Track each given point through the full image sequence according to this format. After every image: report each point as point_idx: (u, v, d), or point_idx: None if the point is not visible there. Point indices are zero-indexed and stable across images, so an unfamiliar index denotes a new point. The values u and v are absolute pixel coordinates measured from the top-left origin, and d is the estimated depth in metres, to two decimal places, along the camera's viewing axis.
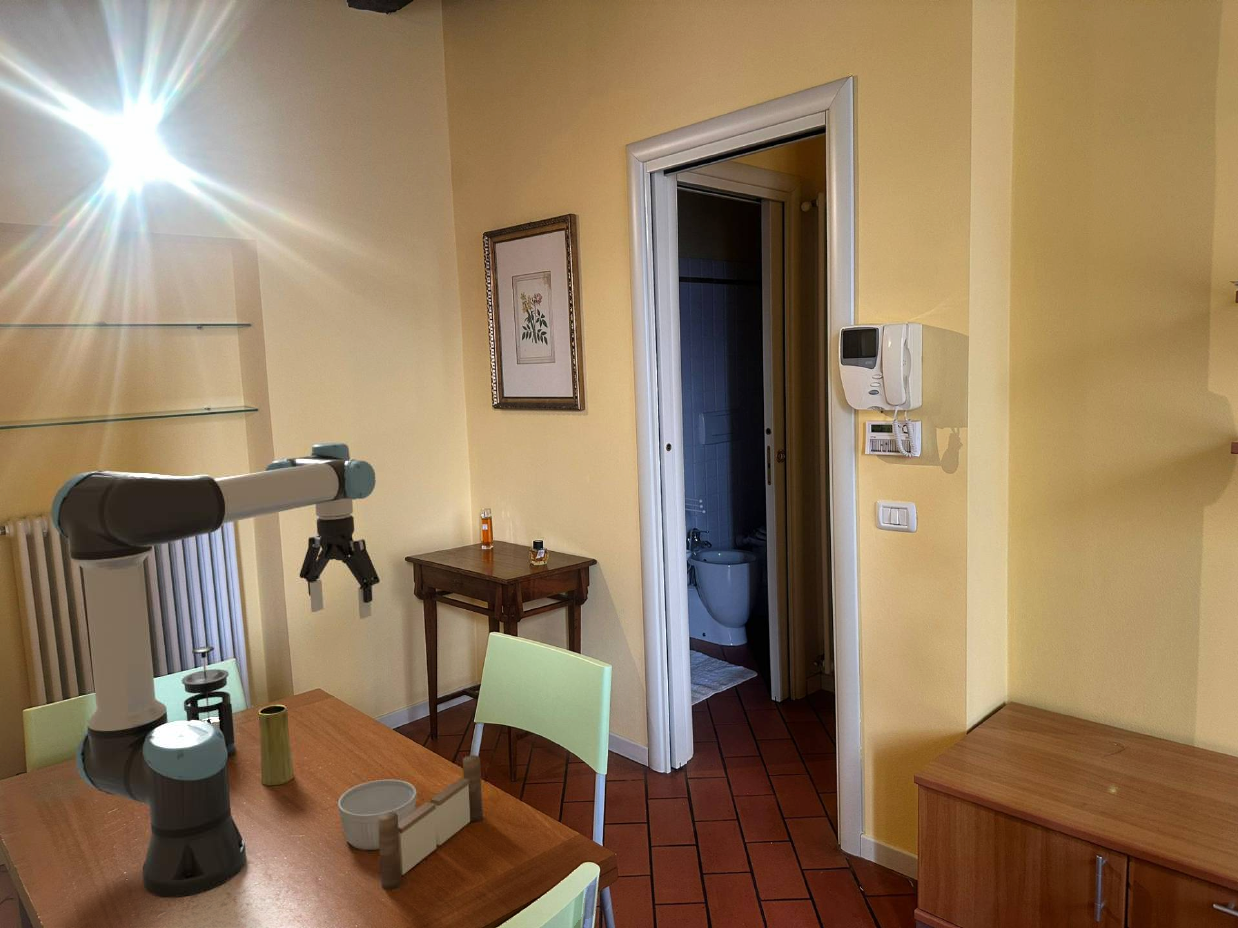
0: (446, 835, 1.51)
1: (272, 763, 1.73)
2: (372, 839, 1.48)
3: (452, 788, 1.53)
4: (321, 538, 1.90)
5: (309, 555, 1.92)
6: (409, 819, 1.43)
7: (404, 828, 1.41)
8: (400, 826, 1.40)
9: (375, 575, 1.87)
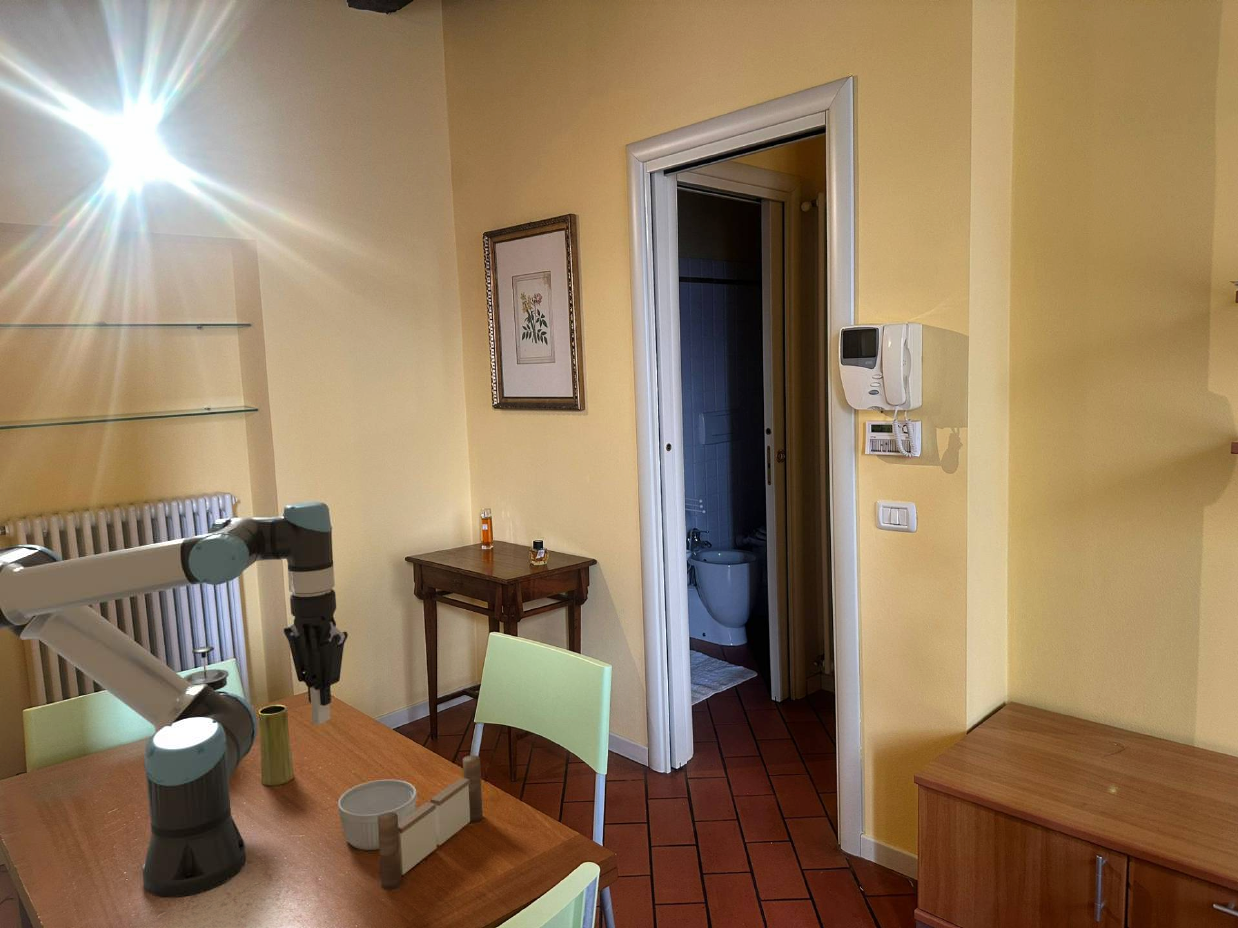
0: (446, 835, 1.51)
1: (272, 763, 1.73)
2: (372, 839, 1.48)
3: (452, 788, 1.53)
4: (294, 619, 1.57)
5: (294, 648, 1.57)
6: (409, 819, 1.43)
7: (404, 828, 1.41)
8: (400, 826, 1.40)
9: (337, 675, 1.56)
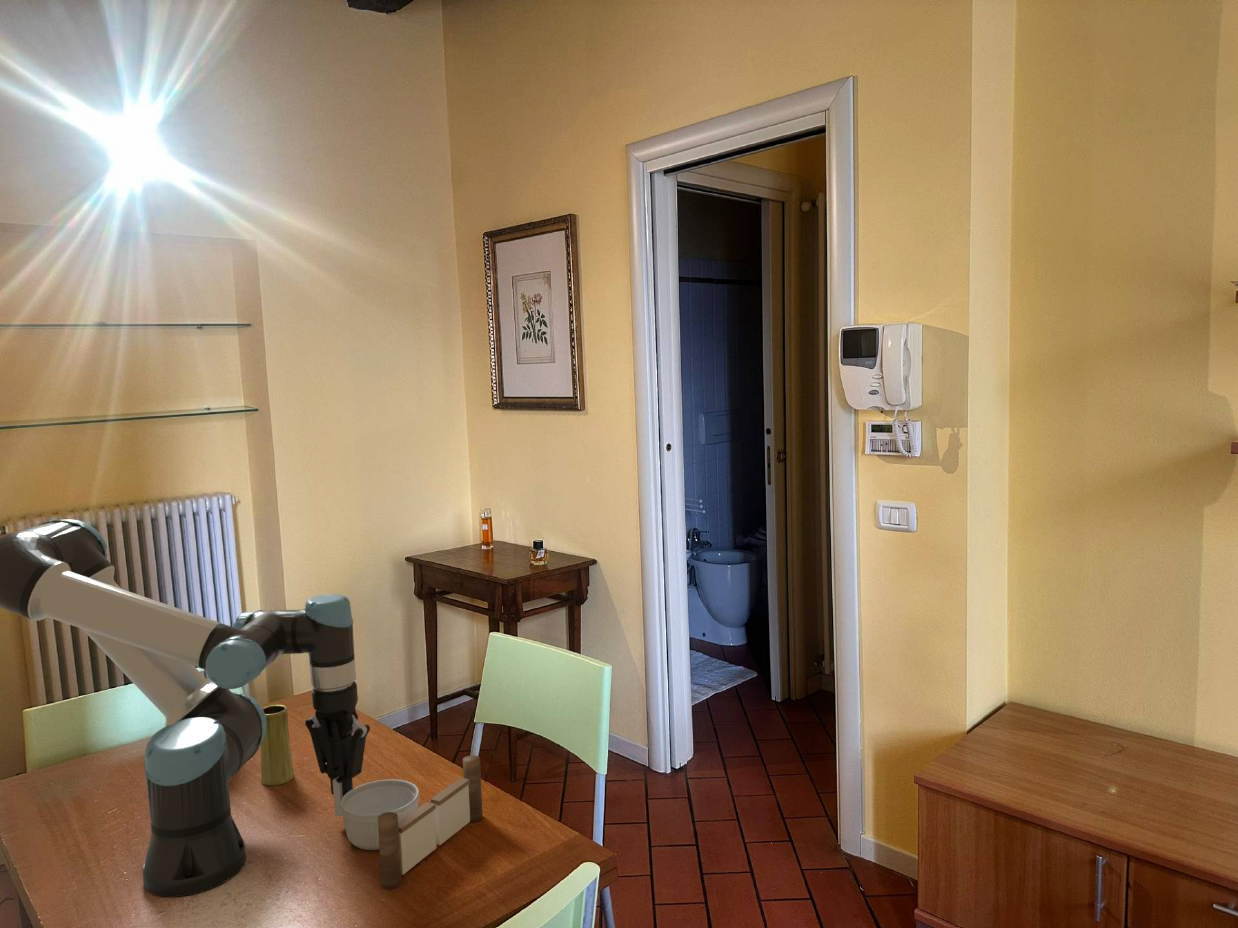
0: (446, 835, 1.51)
1: (272, 763, 1.73)
2: (375, 839, 1.48)
3: (452, 788, 1.53)
4: None
5: (316, 740, 1.57)
6: (409, 819, 1.43)
7: (404, 828, 1.41)
8: (400, 826, 1.40)
9: (359, 767, 1.56)
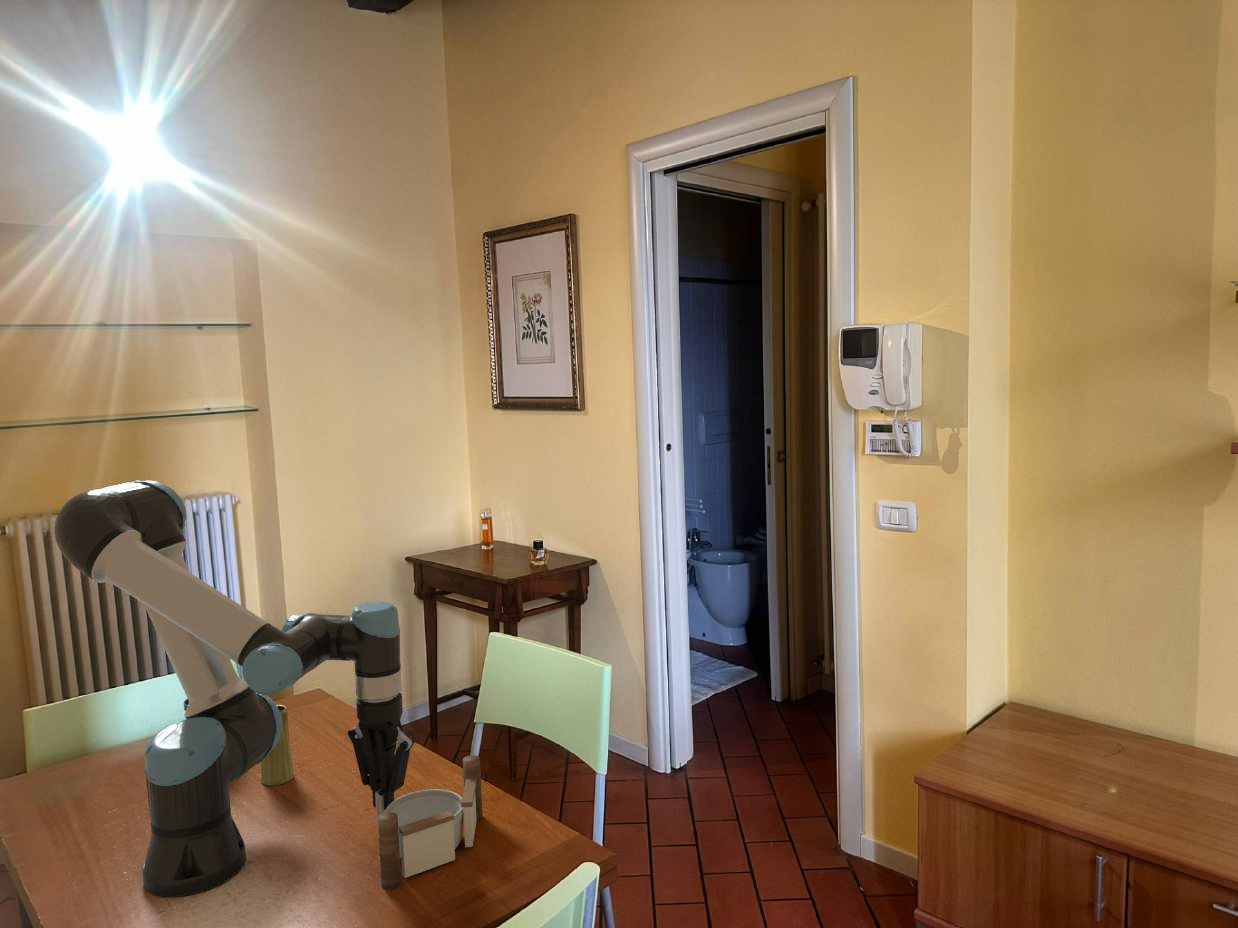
0: (473, 836, 1.50)
1: (272, 763, 1.73)
2: None
3: (470, 789, 1.52)
4: None
5: (358, 751, 1.53)
6: (418, 824, 1.41)
7: (407, 832, 1.39)
8: (403, 829, 1.40)
9: (402, 780, 1.52)
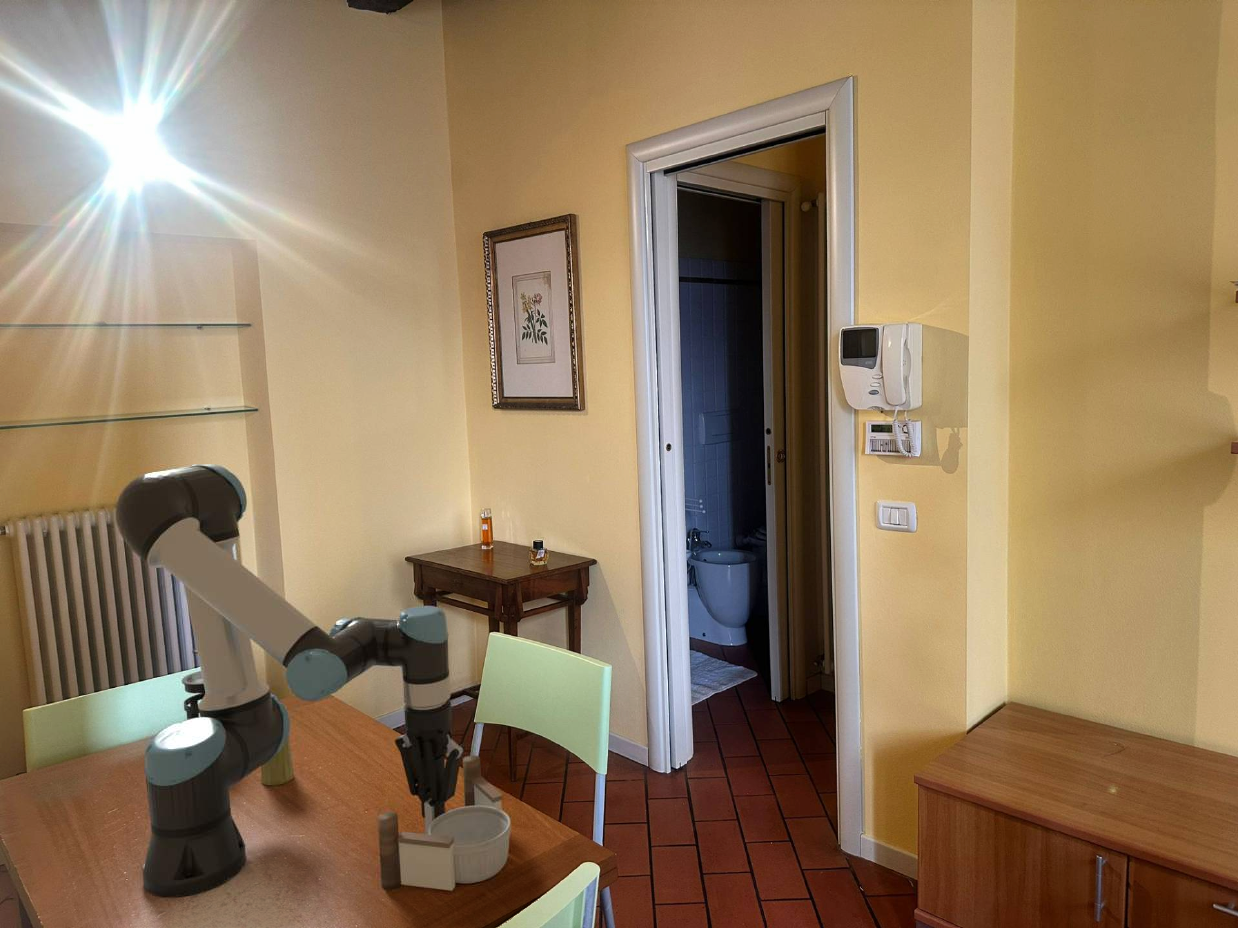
0: None
1: (272, 763, 1.73)
2: None
3: (486, 785, 1.53)
4: None
5: (406, 760, 1.49)
6: (416, 836, 1.37)
7: (401, 840, 1.37)
8: (400, 835, 1.38)
9: (453, 790, 1.47)
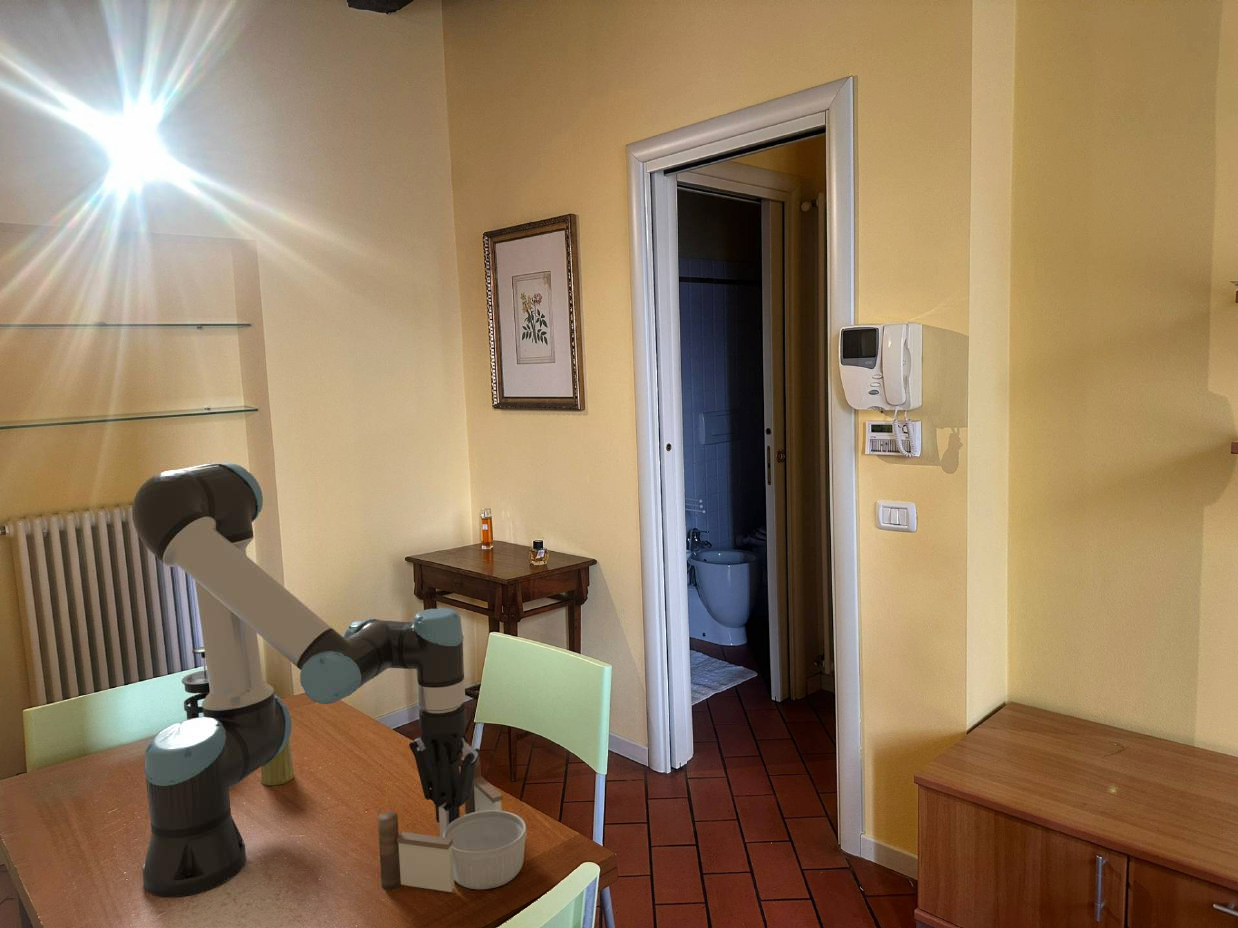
0: None
1: (272, 763, 1.73)
2: (469, 877, 1.36)
3: (486, 785, 1.53)
4: (421, 733, 1.47)
5: (421, 764, 1.47)
6: (415, 837, 1.37)
7: (401, 840, 1.37)
8: (400, 836, 1.38)
9: (468, 794, 1.46)
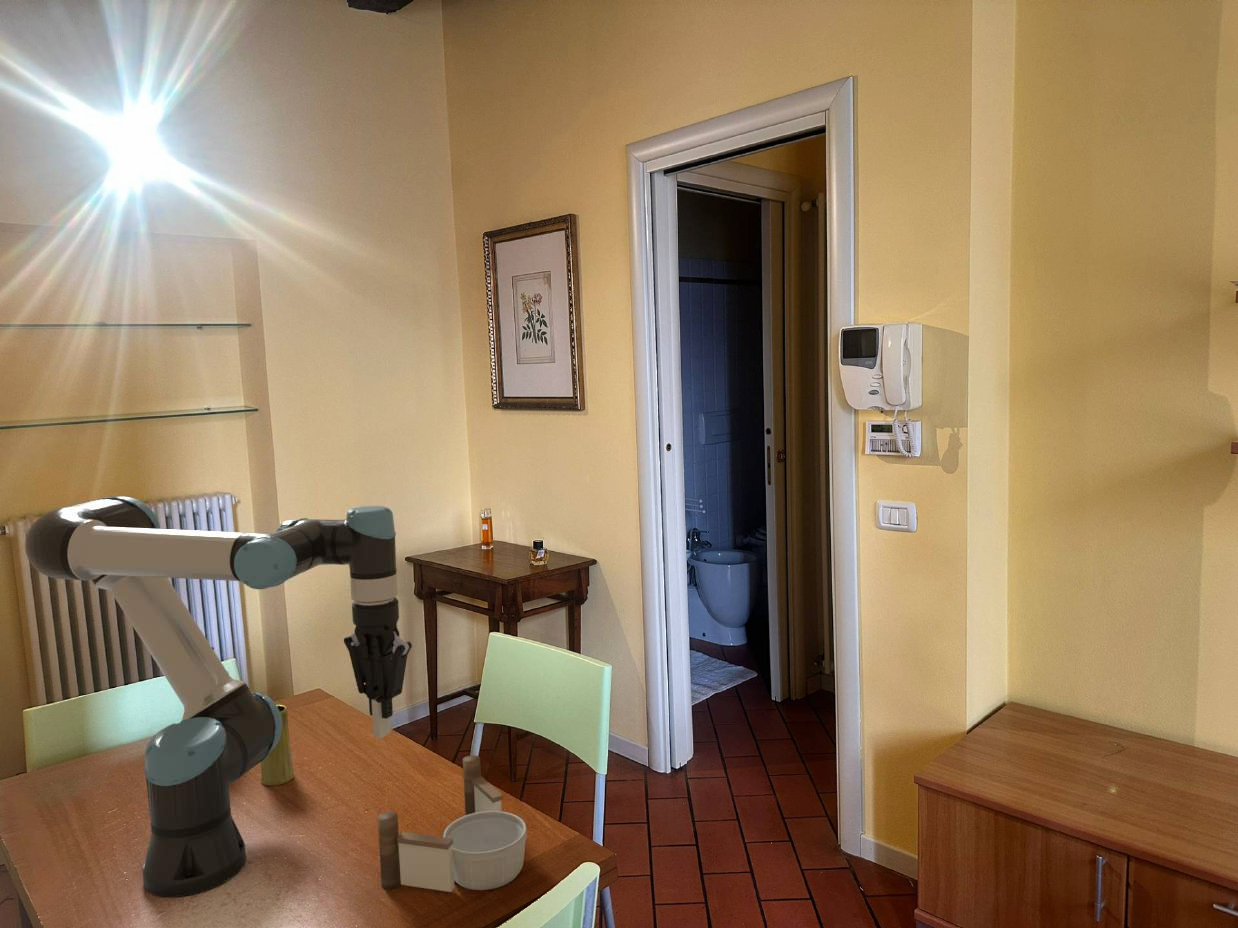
0: None
1: (272, 763, 1.73)
2: (469, 878, 1.36)
3: (486, 785, 1.53)
4: (355, 628, 1.50)
5: (355, 659, 1.51)
6: (415, 837, 1.37)
7: (401, 840, 1.37)
8: (400, 836, 1.38)
9: (400, 687, 1.50)
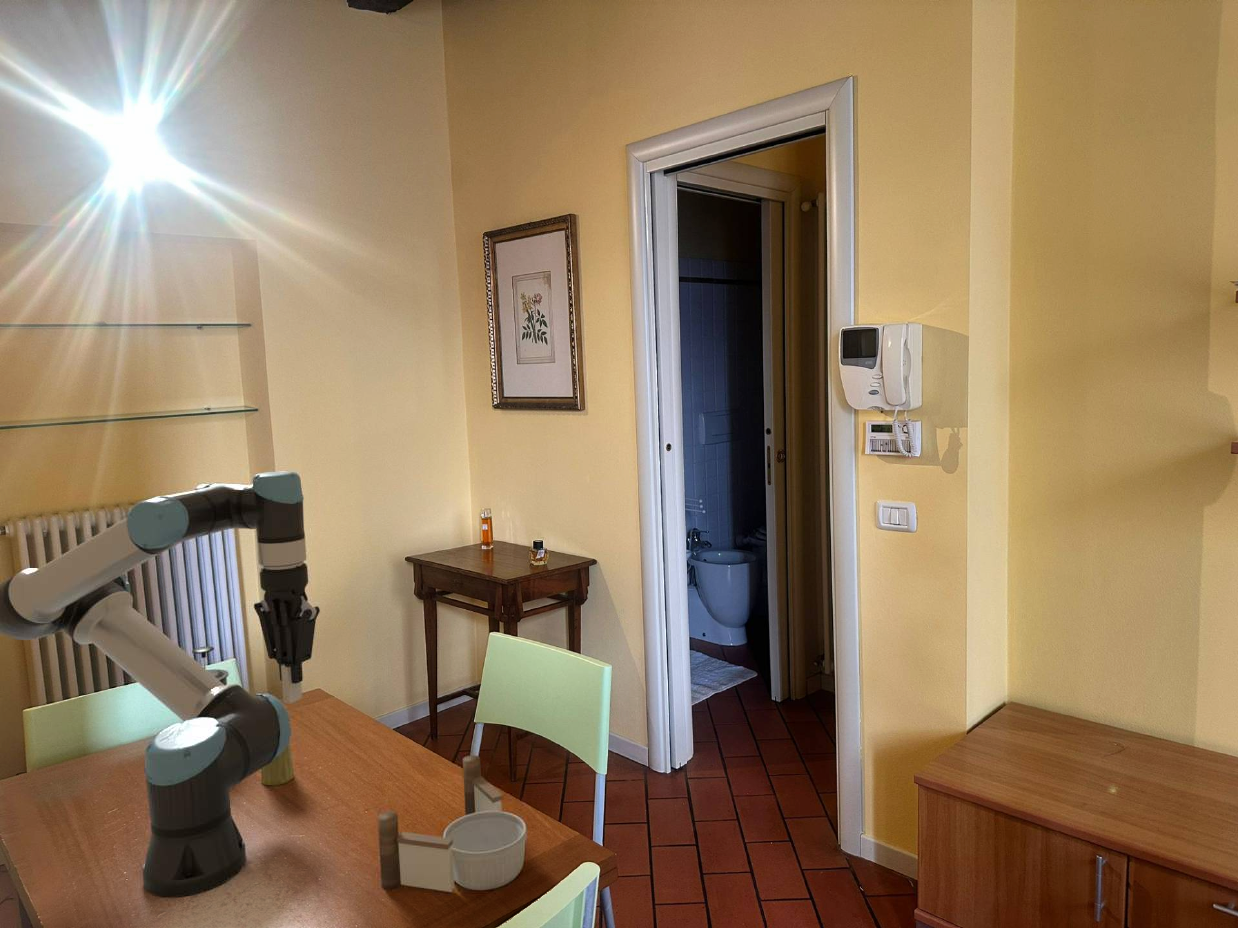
0: None
1: (272, 763, 1.73)
2: (469, 878, 1.36)
3: (486, 785, 1.53)
4: None
5: (264, 624, 1.51)
6: (415, 837, 1.37)
7: (401, 840, 1.37)
8: (400, 836, 1.38)
9: (309, 652, 1.50)
